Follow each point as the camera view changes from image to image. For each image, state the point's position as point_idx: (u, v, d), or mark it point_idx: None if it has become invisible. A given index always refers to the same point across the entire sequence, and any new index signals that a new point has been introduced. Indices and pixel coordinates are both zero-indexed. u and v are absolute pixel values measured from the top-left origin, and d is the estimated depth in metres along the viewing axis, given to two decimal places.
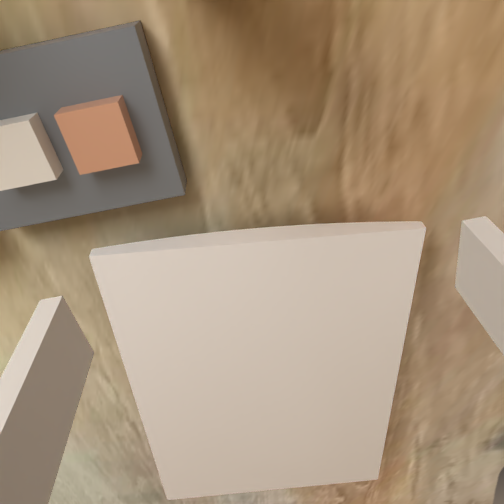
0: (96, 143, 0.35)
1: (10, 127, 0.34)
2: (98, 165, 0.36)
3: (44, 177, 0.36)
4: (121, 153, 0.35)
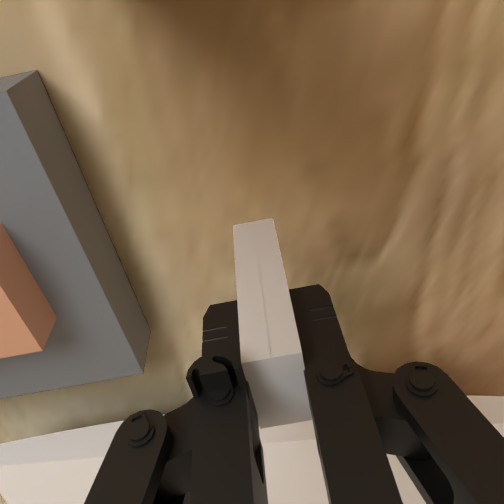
0: None
1: None
2: None
3: None
4: (4, 336, 0.17)
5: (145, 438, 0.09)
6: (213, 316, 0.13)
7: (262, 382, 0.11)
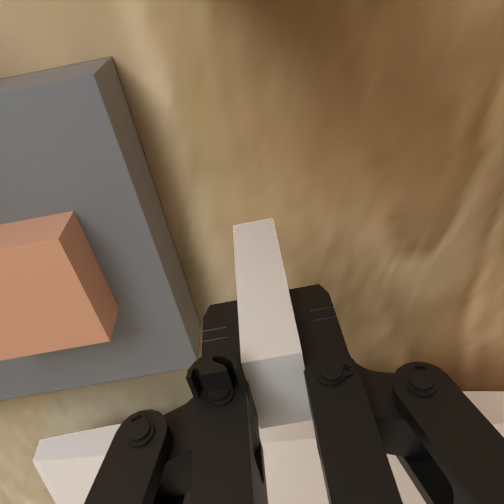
0: (19, 311, 0.17)
1: None
2: (27, 346, 0.18)
3: None
4: (73, 326, 0.17)
5: (145, 438, 0.09)
6: (213, 316, 0.13)
7: (262, 382, 0.11)
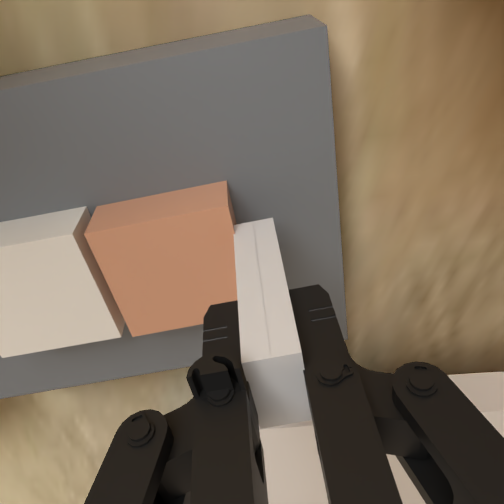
0: (171, 283, 0.16)
1: (31, 247, 0.15)
2: (171, 320, 0.17)
3: (97, 334, 0.18)
4: (221, 298, 0.17)
5: (145, 438, 0.09)
6: (213, 316, 0.13)
7: (263, 381, 0.11)
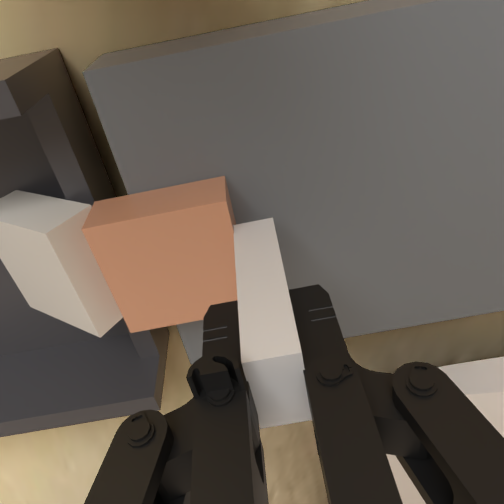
0: (170, 279, 0.16)
1: (23, 232, 0.16)
2: (169, 316, 0.17)
3: (83, 325, 0.18)
4: (219, 294, 0.17)
5: (145, 438, 0.09)
6: (213, 316, 0.13)
7: (262, 382, 0.11)
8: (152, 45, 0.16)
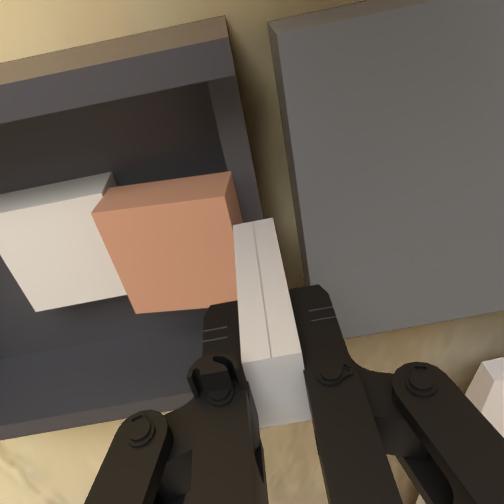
0: (171, 266, 0.17)
1: (64, 206, 0.17)
2: (171, 302, 0.18)
3: (121, 288, 0.20)
4: (219, 285, 0.18)
5: (146, 438, 0.09)
6: (213, 316, 0.13)
7: (263, 382, 0.11)
8: (322, 11, 0.16)
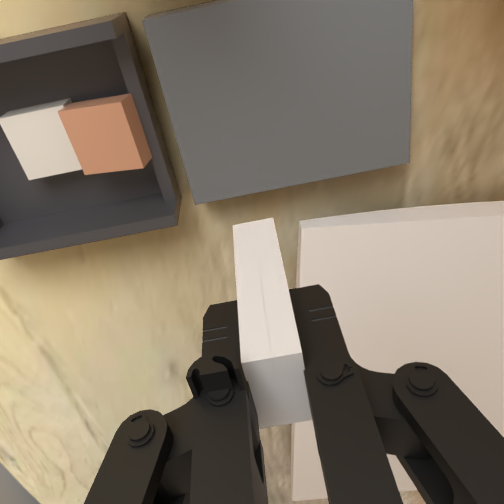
0: (100, 144, 0.33)
1: (43, 112, 0.32)
2: (102, 166, 0.34)
3: (77, 165, 0.35)
4: (125, 156, 0.33)
5: (145, 438, 0.09)
6: (213, 316, 0.13)
7: (262, 382, 0.11)
8: (174, 10, 0.31)
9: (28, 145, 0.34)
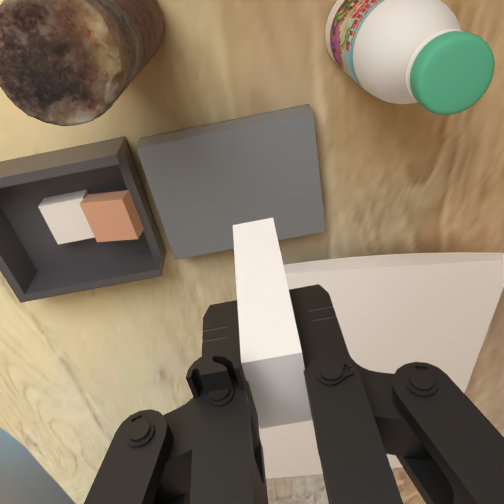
0: (108, 223, 0.48)
1: (69, 202, 0.48)
2: (109, 237, 0.49)
3: (91, 235, 0.50)
4: (125, 231, 0.48)
5: (145, 438, 0.09)
6: (213, 316, 0.13)
7: (262, 382, 0.11)
8: (158, 135, 0.46)
9: (58, 222, 0.49)
